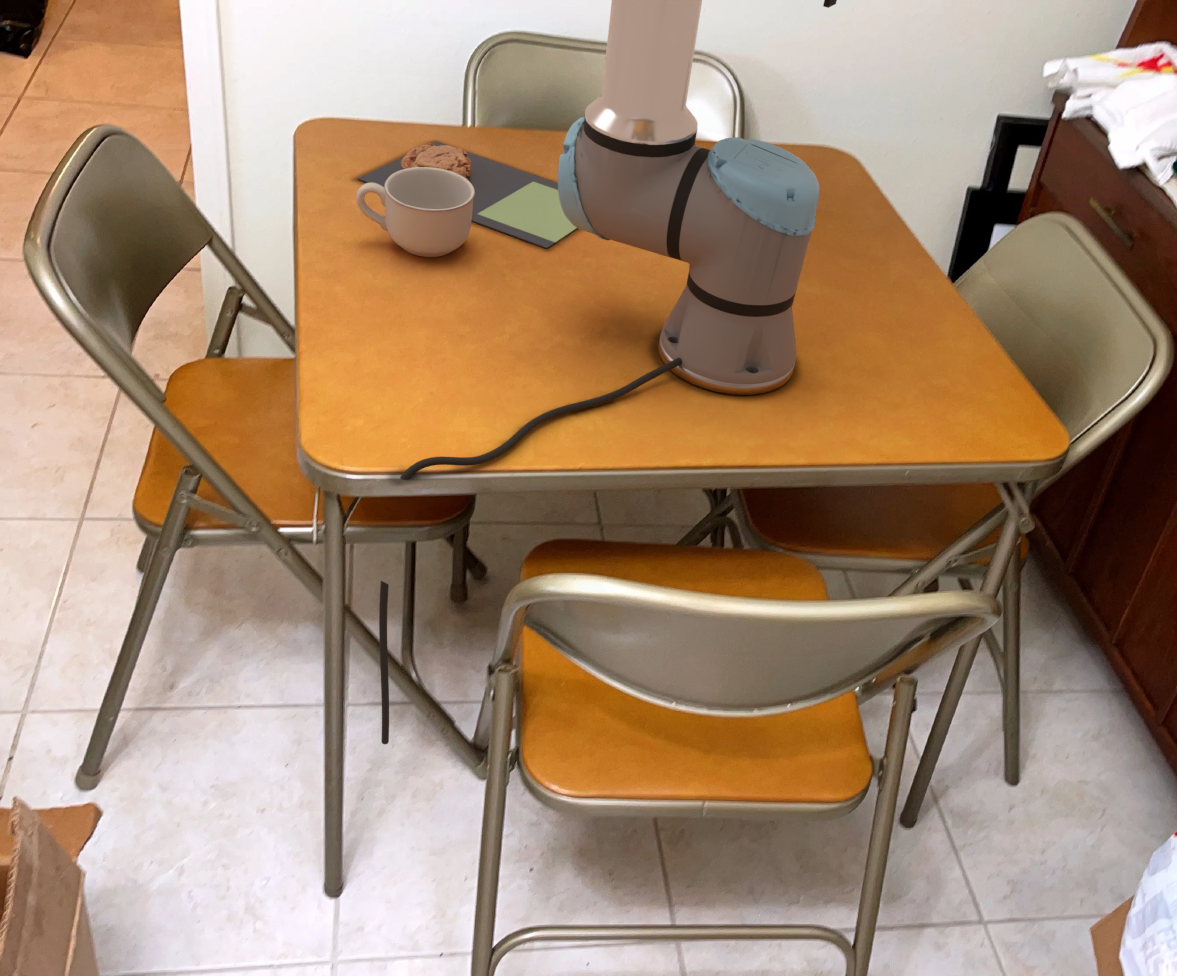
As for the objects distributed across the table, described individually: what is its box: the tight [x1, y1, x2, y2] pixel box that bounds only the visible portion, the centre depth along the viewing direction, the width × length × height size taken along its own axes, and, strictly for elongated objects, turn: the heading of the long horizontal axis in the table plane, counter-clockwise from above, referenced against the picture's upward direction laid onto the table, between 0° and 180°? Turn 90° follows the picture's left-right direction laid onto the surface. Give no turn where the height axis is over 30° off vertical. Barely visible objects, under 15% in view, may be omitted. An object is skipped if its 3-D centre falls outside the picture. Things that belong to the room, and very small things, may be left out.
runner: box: [357, 140, 579, 250], centre depth 153 cm, size 18×30×1 cm, turn 61°
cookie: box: [401, 142, 471, 179], centre depth 155 cm, size 10×11×3 cm
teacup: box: [355, 167, 475, 258], centre depth 136 cm, size 14×11×8 cm
